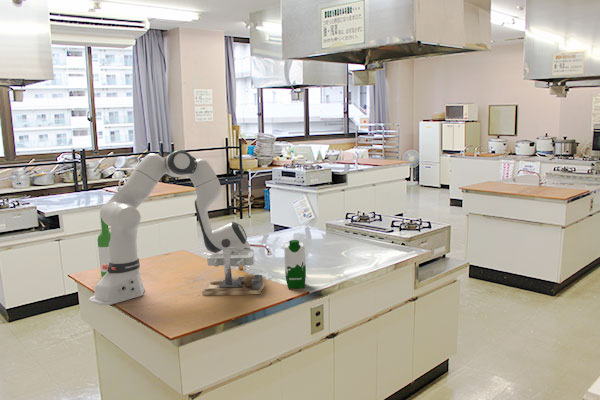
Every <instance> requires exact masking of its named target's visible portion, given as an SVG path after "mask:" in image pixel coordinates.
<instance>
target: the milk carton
mask: <svg viewBox="0 0 600 400" xmlns="http://www.w3.org/2000/svg"><path fill="white" fill-rule="evenodd" d="M283 251H284V274H285V281H286V286H287V289H288V288H294V290H295V289H305V287H306V278H307V277H306V275H307V272H306V271H307V268H306V267H307V266H306V254H305V253H306V252H305V251H306V250H305V245H304V243H303V242H300V240H298V239H291V240H289V241H288V242H287V243H286V242H285V243H284V250H283Z"/></svg>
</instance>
